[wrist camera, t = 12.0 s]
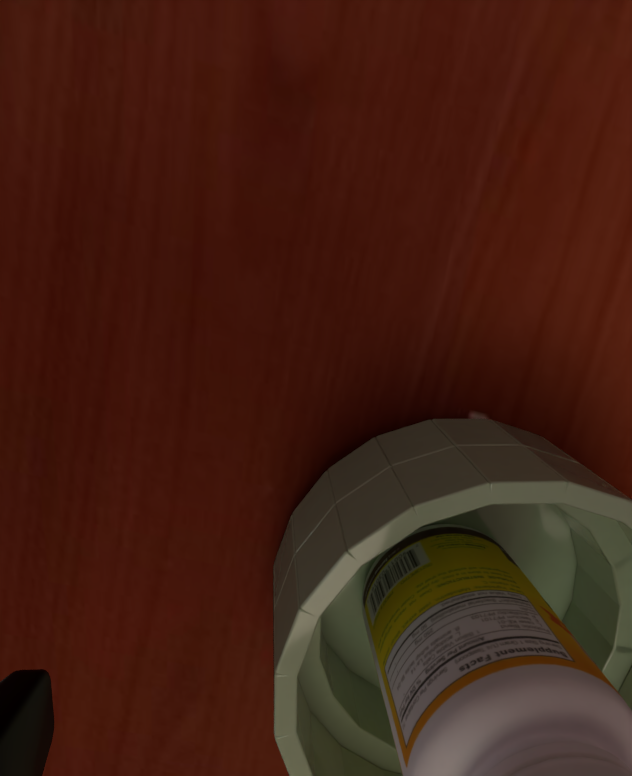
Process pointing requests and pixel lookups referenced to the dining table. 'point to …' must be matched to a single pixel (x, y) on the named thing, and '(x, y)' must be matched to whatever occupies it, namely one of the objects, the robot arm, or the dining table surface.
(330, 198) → the dining table surface
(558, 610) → the ceramic bowl
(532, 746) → the supplement bottle
